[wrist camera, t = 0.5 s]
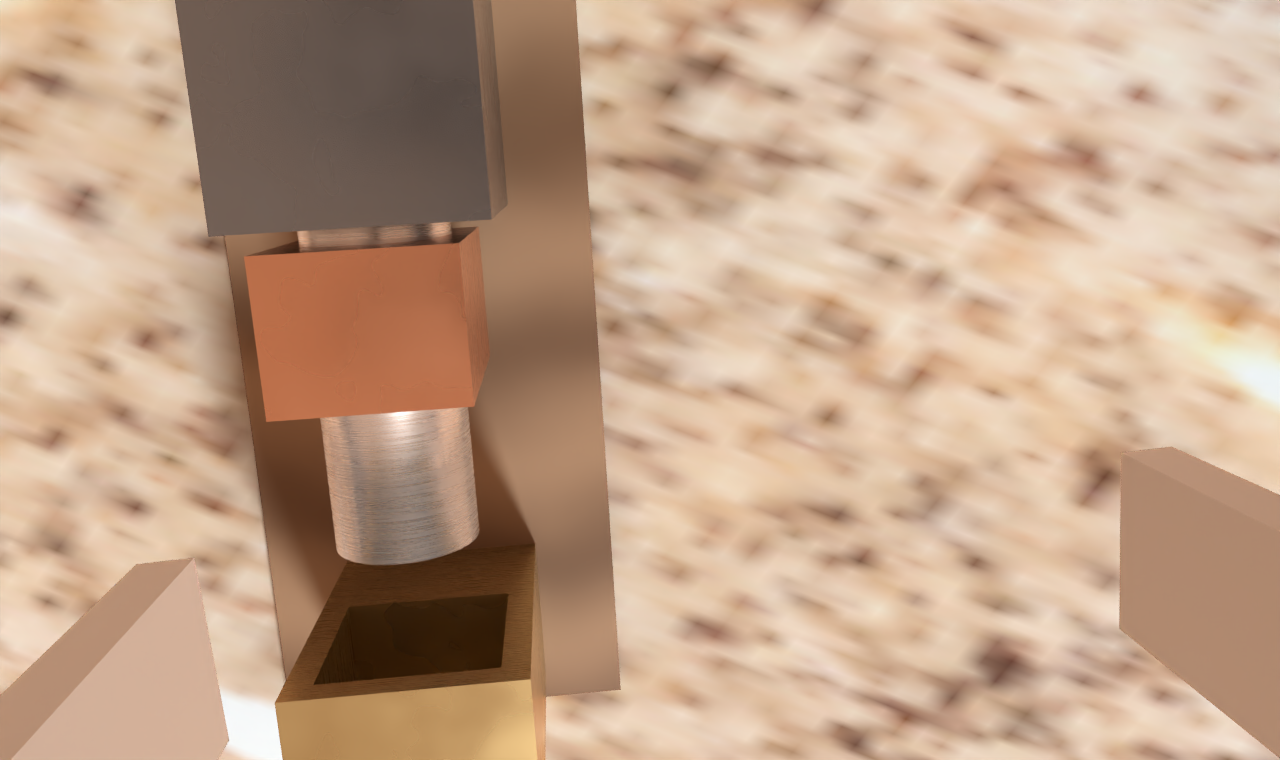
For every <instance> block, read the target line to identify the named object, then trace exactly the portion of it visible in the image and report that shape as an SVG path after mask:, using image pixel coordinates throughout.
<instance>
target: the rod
mask: <svg viewBox="0 0 1280 760" xmlns="http://www.w3.org/2000/svg"><path fill="white" fill-rule="evenodd" d="M297 234H298V241H295V242H291V243H288V244H285V245H281V246H278V247H275V248H271V249H268V250H264V251H261V252H258V253H254V254H251V255H247V256H244V261H245V268H246V275H247V283H248V290H249V298H250V305H251V312H252V320H253V327H254V335H255V342H256V349H257V357H258V364H259V371H260V379H261V386H262V394H263V401H264V408H265V416H266V422H272V421H286V420H299V419H313V418H320V420H321V428H322V436H323V444H324V452H325V460H326V468H327V476H328V484H329V492H330V501H331V509H332V517H333V525H334V533H335V541H336V549H337V552H338V554H339V555H340V556H341V557H343V558H344V559H347V560H349V561H352V562H356V563H362V564H370V565H396V564H406V563H414V562H420V561H425V560H430V559H433V558H437V557H441V556H444V555H447V554H450V553H452V552H455V551H457V550H459V549H462V548H463V547H465V546H467V545H468V544H470V543H471V542H473V541H474V540H475V539H476V537H477V536H478V534H479V522H478V511H477V500H476V489H475V479H474V468H473V457H472V446H471V436H470V425H469V414H468V407H474V405H475V402H476V399H477V396H478V393H479V389H480V386H481V383H482V380H483V376H484V373H485V370H486V367H487V364H488V360H489V357H490V350H489V338H488V327H487V315H486V304H485V292H484V281H483V270H482V258H481V247H480V235H479V226H478V227H461V228H451V222H442V223H425V224H409V225H392V226H376V227H359V228H342V229H326V230H309V231H297Z"/></svg>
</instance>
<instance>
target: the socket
mask: <svg viewBox="0 0 1280 760" xmlns="http://www.w3.org/2000/svg"><path fill="white" fill-rule="evenodd" d="M275 708H276V715H277V722H278V729H279V736H280V743H281V750H282V757H283V760H545V734H546V667H545V655H544V642H543V630H542V618H541V606H540V593H539V581H538V569H537V556H536V544H524V545H512V546H500V547H488V548H476V549H464V550H457V551H455V552H452V553H450V554H447V555H444V556H441V557H437V558H433V559H430V560H425V561H420V562H414V563H406V564H396V565H370V564H362V563H356V562H352V561H349V560H348V561H347V563H346V565H345V567H344V569H343V571H342V573H341V575H340V576H339V578H338V580H337V582H336V584H335V586H334V588H333V590H332V592H331V594H330V596H329V598H328V600H327V602H326V604H325V606H324V608H323V610H322V612H321V614H320V616H319V618H318V620H317V622H316V623H315V625H314V627H313V629H312V631H311V633H310V635H309V637H308V639H307V641H306V643H305V645H304V647H303V649H302V651H301V653H300V655H299V657H298V659H297V661H296V663H295V665H294V667H293V668H292V670H291V672H290V674H289V676H288V678H287V680H286V682H285V684H284V686H283V688H282V690H281V692H280V694H279V696H278V698H277V700H276V702H275Z"/></svg>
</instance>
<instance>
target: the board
mask: <svg viewBox="0 0 1280 760" xmlns="http://www.w3.org/2000/svg"><path fill="white" fill-rule="evenodd" d="M491 3H492V15H493V28H494V40H495V52H496V64H497V77H498V89H499V101H500V114H501V126H502V138H503V151H504V163H505V175H506V187H507V200H508V205H507V206H506V207H505V208H503V209H502V210H501V211H500V212H499V213H498V214H497V215H496V216H495V217H494V218H493V219H491V220H475V221H458V222H451V228H461V227H478V226H479V235H480V247H481V258H482V270H483V281H484V292H485V304H486V315H487V327H488V338H489V350H490V357H489V360H488V364H487V367H486V370H485V373H484V376H483V380H482V383H481V386H480V389H479V393H478V396H477V399H476V402H475V405H474V407H468V414H469V425H470V436H471V446H472V457H473V468H474V479H475V489H476V500H477V511H478V522H479V534H478V536H477V537H476V539H475V540H474V541H473V542H471V543H470V544H468V545H467V546H465V547H463V548H462V549H459V550H464V549H476V548H488V547H500V546H512V545H524V544H536V556H537V569H538V581H539V593H540V606H541V618H542V630H543V642H544V655H545V667H546V697H547V696H558V695H568V694H579V693H590V692H600V691H611V690H621V689H620V674H619V658H618V643H617V628H616V612H615V597H614V582H613V566H612V551H611V536H610V520H609V505H608V490H607V474H606V459H605V444H604V428H603V413H602V398H601V382H600V367H599V352H598V336H597V321H596V306H595V290H594V275H593V260H592V244H591V229H590V213H589V198H588V183H587V167H586V152H585V137H584V121H583V106H582V91H581V75H580V60H579V45H578V29H577V14H576V0H491ZM295 241H298V234H297V231H293V232H276V233H260V234H243V235H227V236H225V242H226V249H227V257H228V264H229V271H230V278H231V285H232V293H233V300H234V307H235V314H236V321H237V329H238V336H239V343H240V350H241V358H242V365H243V372H244V379H245V386H246V394H247V401H248V408H249V415H250V422H251V430H252V437H253V444H254V451H255V458H256V466H257V473H258V480H259V487H260V495H261V502H262V509H263V516H264V523H265V531H266V538H267V545H268V552H269V559H270V567H271V574H272V581H273V588H274V596H275V603H276V610H277V617H278V624H279V632H280V639H281V646H282V653H283V660H284V668H285V675H286V680H287V678H288V676H289V674H290V672H291V670H292V668H293V667H294V665H295V663H296V661H297V659H298V657H299V655H300V653H301V651H302V649H303V647H304V645H305V643H306V641H307V639H308V637H309V635H310V633H311V631H312V629H313V627H314V625H315V623H316V622H317V620H318V618H319V616H320V614H321V612H322V610H323V608H324V606H325V604H326V602H327V600H328V598H329V596H330V594H331V592H332V590H333V588H334V586H335V584H336V582H337V580H338V578H339V576H340V575H341V573H342V571H343V569H344V567H345V565H346V563H347V561H348V560H347V559H344V558H343V557H341V556H340V555H339V554H338V552H337V549H336V541H335V533H334V525H333V517H332V509H331V501H330V492H329V484H328V476H327V468H326V460H325V452H324V444H323V436H322V428H321V420H320V418H313V419H299V420H286V421H272V422H266V416H265V408H264V401H263V394H262V386H261V379H260V371H259V364H258V357H257V349H256V342H255V335H254V327H253V320H252V312H251V305H250V298H249V290H248V283H247V275H246V268H245V261H244V256H247V255H251V254H254V253H258V252H261V251H264V250H268V249H271V248H275V247H278V246H281V245H285V244H288V243H291V242H295Z"/></svg>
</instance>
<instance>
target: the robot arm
mask: <svg viewBox="0 0 1280 760" xmlns="http://www.w3.org/2000/svg"><path fill="white" fill-rule="evenodd" d="M1119 629H1121V630H1122V631H1123V632H1124V633H1125V634H1127V635H1128V636H1129V637H1130V638H1132V639H1133V640H1134V641H1135V642H1137V643H1138V644H1139V645H1140V646H1142V647H1143V648H1144V649H1145V650H1147V651H1148V652H1149V653H1150V654H1151V655H1153V656H1154V657H1155V658H1156V659H1158V660H1159V661H1160V662H1161V663H1163V664H1164V665H1165V666H1166V667H1168V668H1169V669H1170V670H1171V671H1172V672H1174V673H1175V674H1176V675H1177V676H1179V677H1180V678H1181V679H1182V680H1184V681H1185V682H1186V683H1187V684H1189V685H1190V686H1191V687H1192V688H1194V689H1195V690H1196V691H1197V692H1198V693H1200V694H1201V695H1202V696H1203V697H1205V698H1206V699H1207V700H1208V701H1210V702H1211V703H1212V704H1213V705H1215V706H1216V707H1217V708H1218V709H1219V710H1221V711H1222V712H1223V713H1224V714H1226V715H1227V716H1228V717H1229V718H1231V719H1232V720H1233V721H1234V722H1236V723H1237V724H1238V725H1239V726H1241V727H1242V728H1243V729H1244V730H1245V731H1247V732H1248V733H1249V734H1250V735H1252V736H1253V737H1254V738H1255V739H1257V740H1258V741H1259V742H1260V743H1262V744H1263V745H1264V746H1265V747H1266V748H1268V749H1269V750H1270V751H1271V752H1273V753H1274V754H1275V755H1276V756H1278V757H1279V758H1280V495H1278V494H1276V493H1274V492H1272V491H1269V490H1267V489H1265V488H1263V487H1260V486H1258V485H1256V484H1254V483H1252V482H1249V481H1247V480H1245V479H1243V478H1240V477H1238V476H1236V475H1234V474H1231V473H1229V472H1227V471H1225V470H1223V469H1220V468H1218V467H1216V466H1214V465H1211V464H1209V463H1207V462H1205V461H1202V460H1200V459H1198V458H1196V457H1194V456H1191V455H1189V454H1187V453H1185V452H1182V451H1180V450H1178V449H1176V448H1174V447H1165V448H1156V449H1148V450H1139V451H1130V452H1121V514H1120V619H1119ZM228 741H229V737H228V732H227V727H226V721H225V716H224V711H223V706H222V701H221V695H220V690H219V685H218V680H217V674H216V669H215V664H214V659H213V653H212V648H211V643H210V638H209V633H208V627H207V622H206V617H205V612H204V606H203V601H202V596H201V591H200V585H199V580H198V575H197V570H196V565H195V559H194V558H188V559H179V560H170V561H162V562H153V563H144V564H136V565H135V566H134V567H133V568H132V569H131V570H130V571H129V572H128V573H127V574H126V575H125V576H124V577H123V578H122V579H121V580H120V581H119V582H118V583H117V584H116V585H115V586H114V587H113V588H111V589H110V590H109V591H108V592H107V593H106V594H105V595H104V596H103V597H102V598H101V599H100V600H99V601H98V602H97V603H96V604H95V605H94V606H93V607H92V608H91V609H90V610H89V611H88V612H87V613H86V614H84V615H83V616H82V617H81V618H80V619H79V620H78V621H77V622H76V623H75V624H74V625H73V626H72V627H71V628H70V629H69V630H68V631H67V632H66V633H65V634H64V635H63V636H62V637H61V638H60V639H58V640H57V641H56V642H55V643H54V644H53V645H52V646H51V647H50V648H49V649H48V650H47V651H46V652H45V653H44V654H43V655H42V656H41V657H40V658H39V659H38V660H37V661H36V662H35V663H34V664H33V665H31V666H30V667H29V668H28V669H27V670H26V671H25V672H24V673H23V674H22V675H21V676H20V677H19V678H18V679H17V680H16V681H15V682H14V683H13V684H12V685H11V686H10V687H9V688H8V689H7V690H6V691H4V692H3V693H2V694H1V695H0V760H218V759H219V757H220V756H221V754H222V752H223V750H224V748H225V747H226V745H227V743H228Z"/></svg>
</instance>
